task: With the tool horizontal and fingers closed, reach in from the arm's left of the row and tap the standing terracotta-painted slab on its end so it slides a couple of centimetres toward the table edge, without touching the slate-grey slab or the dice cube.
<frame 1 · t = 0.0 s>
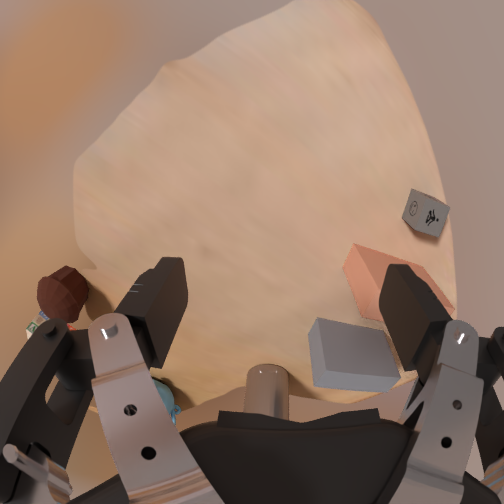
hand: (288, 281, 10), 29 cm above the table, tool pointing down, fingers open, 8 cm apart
terracotta slab: (385, 266, 42), on the table
dice cube: (417, 206, 37), on the table
decorative pot: (150, 386, 64), on the table
slate slab: (347, 332, 50), on the table
muffin: (74, 282, 50), on the table
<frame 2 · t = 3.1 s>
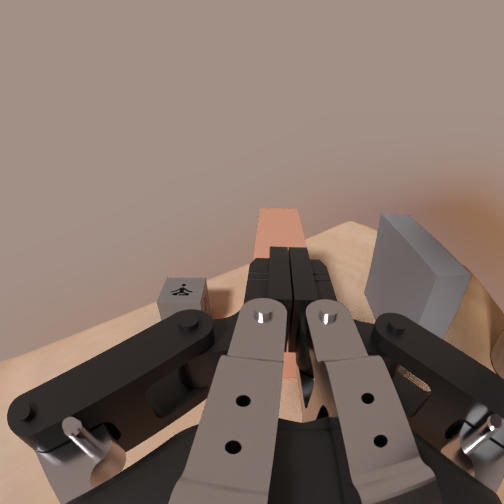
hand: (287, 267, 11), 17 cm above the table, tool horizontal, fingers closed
terracotta slab: (275, 328, 32), on the table
dice cube: (188, 322, 34), on the table
slate slab: (393, 326, 31), on the table
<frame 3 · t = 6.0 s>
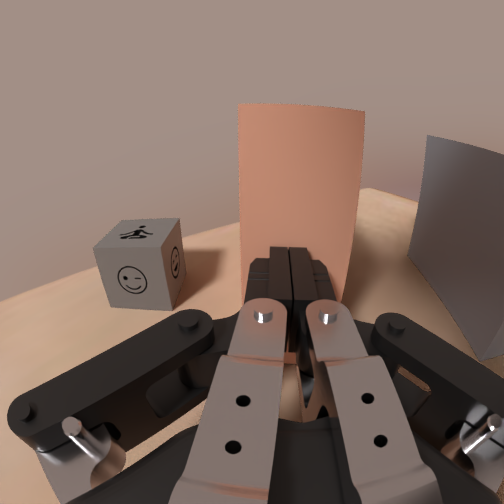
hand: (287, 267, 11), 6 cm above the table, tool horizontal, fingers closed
terracotta slab: (284, 287, 21), on the table, touching gripper
dice cube: (150, 292, 20), on the table
slate slab: (457, 296, 18), on the table
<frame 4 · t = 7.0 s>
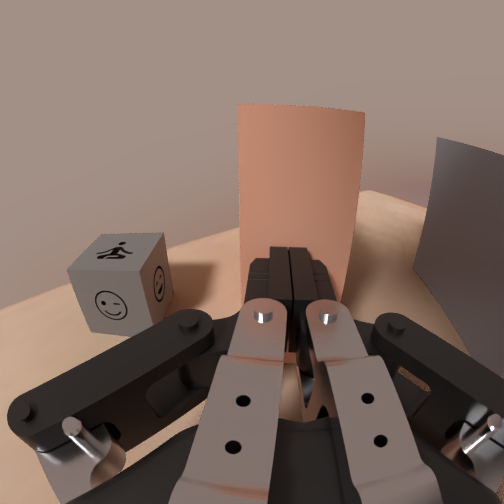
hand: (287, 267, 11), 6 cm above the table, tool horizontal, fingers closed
terracotta slab: (283, 286, 21), on the table, touching gripper
dice cube: (134, 314, 18), on the table
slate slab: (466, 315, 16), on the table
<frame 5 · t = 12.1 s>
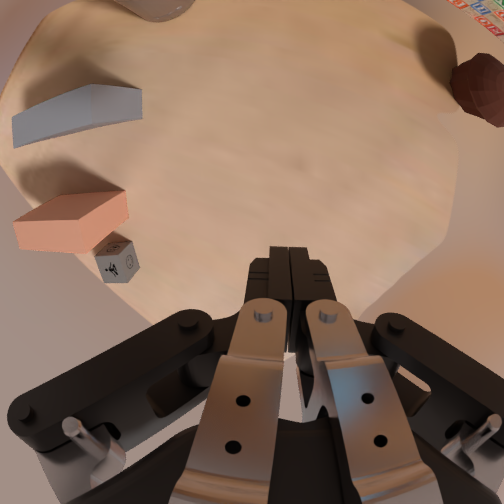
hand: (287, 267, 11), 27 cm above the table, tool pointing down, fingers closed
terracotta slab: (91, 205, 40), on the table
stack of blocks: (477, 11, 17), on the table
dice cube: (124, 254, 44), on the table
slate slab: (100, 112, 33), on the table
muffin: (468, 89, 26), on the table
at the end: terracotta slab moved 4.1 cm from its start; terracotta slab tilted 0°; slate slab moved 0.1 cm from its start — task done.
